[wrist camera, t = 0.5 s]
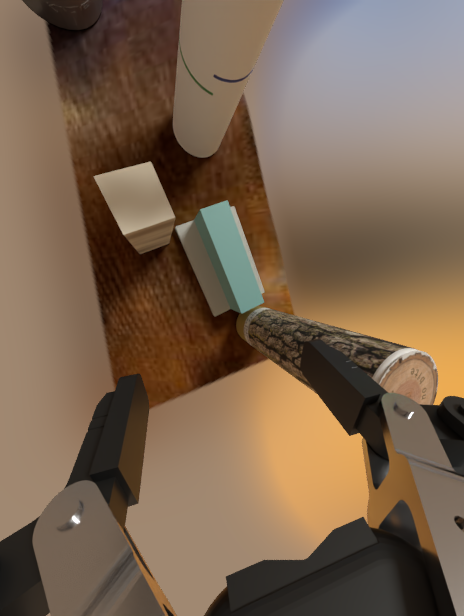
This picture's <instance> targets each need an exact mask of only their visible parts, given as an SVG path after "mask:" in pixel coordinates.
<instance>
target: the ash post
mask: <svg viewBox="0 0 464 616" xmlns="http://www.w3.org/2000/svg"><path fill="white" fill-rule="evenodd" d="M93 177H94V178H95V180H96V182H97V184H98V186H99V188H100V190H101V192H102V194H103V196H104V198H105V200H106V202H107V204H108V206H109V208H110V210H111V212H112V214H113V216H114V217H115V219H116V221H117V223H118V225H119V227H120V229H121V231H122V233H123V235H124V236H125V237H126V239H127V240H128V241H129V242H130V243H131V244H132V246H133V247H134V248H135V249H136V250H137V252H138V253H139V254H143V253H145V252H148V251H151V250H153V249H156V248H159V247H161V246H164V245H167V244H169V242H170V238H171V234H172V229H173V225H174V221H175V215H174V213H173V211H172V209H171V206H170V204H169V202H168V199H167V197H166V195H165V193H164V190H163V188H162V186H161V183H160V181H159V179H158V176H157V174H156V172H155V170H154V167H153V165H152V163H151V162H147V163H143V164H139V165H135V166H131V167H127V168H123V169H120V170H116V171H112V172H108V173H104V174H100V175H96V176H93Z"/></svg>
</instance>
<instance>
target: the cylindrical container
mask: <svg viewBox="0 0 464 616" xmlns="http://www.w3.org/2000/svg"><path fill="white" fill-rule="evenodd" d="M283 1H284V0H182V9H181V21H180V35H179V47H178V60H177V73H176V86H175V98H174V111H173V131H174V134H175V137H176V139H177V141H178V143H179V144H180V145H181V147H182V148H183V149H184V150H185V151H186V152H188V153H189V154H191V155H193V156H196V157H200V158H205V157H209V156H211V155H213V154H214V153H215V152H216V151H217V149H218V147H219V145H220V143H221V141H222V139H223V136H224V134H225V132H226V130H227V127H228V125H229V123H230V121H231V118H232V116H233V114H234V111H235V109H236V107H237V105H238V102H239V100H240V98H241V96H242V93H243V91H244V89H245V87H246V84H247V82H248V80H249V77H250V75H251V73H252V71H253V69H254V66H255V64H256V62H257V60H258V57H259V55H260V53H261V51H262V48H263V46H264V44H265V41H266V39H267V37H268V35H269V33H270V30H271V28H272V26H273V23H274V21H275V19H276V17H277V14H278V12H279V10H280V8H281V5H282V3H283Z"/></svg>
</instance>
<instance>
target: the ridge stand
mask: <svg viewBox="0 0 464 616" xmlns="http://www.w3.org/2000/svg"><path fill="white" fill-rule="evenodd" d="M175 230H176V232H177V234H178V237H179V239H180V241H181V243H182V246H183V248H184V250H185V253H186V255H187V257H188V259H189V262H190V264H191V266H192V268H193V271H194V273H195V275H196V277H197V280H198V282H199V284H200V286H201V289H202V291H203V293H204V295H205V298H206V300H207V302H208V305H209V307H210V309H211V311H212V314H213V316H217V315H219V314H221V313H224V312H226V311H228V310H230V309H232V310H234V311H236V312H239V313H241V314H242V313H244V312H246V311H248V310H250V309H252V308H254V307H256V306H258V305H260V304H262V303H264V300H263V297H262V295H261V294H262V293H264V289H263V286H262V283H261V280H260V277H259V275H258V272H257V269H256V266H255V263H254V261H253V258H252V255H251V252H250V249H249V246H248V244H247V241H246V238H245V235H244V232H243V230H242V227H241V224H240V221H239V218H238V215H237V213H236V210H235V207H234V206H233V207H230V206H229V203H228V200H227V201H224V202H221V203H218V204H215V205H212V206H209V207H206V208H203V209H200V211H199V212H198V214H197V216H196V218H195V219H194V220H193V221H190V222H188V223H185V224H182V225H179V226H176V227H175Z"/></svg>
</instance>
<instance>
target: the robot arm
mask: <svg viewBox="0 0 464 616" xmlns="http://www.w3.org/2000/svg"><path fill="white" fill-rule="evenodd" d="M23 2H24V3H25V4H26V5H27V6H28V7H29V8H30V9H31V10H32V11H34V12H35V13H36V14H37V15H38V16H40V17H41V18H43V19H44V20H46V21H47V22H49V23H51V24H53V25H56V26H58V27H61V28H65V29H68V30H81V29H85V28H88V27H89V26H91V25H93V24H94V23H95V22H96V20H97V19H98V18H99V15H100V13H101V9H102V0H23ZM300 368H301V372H302V374H303V376H304V377H305V378H306V380H307V381H308V382H309V383H310V385H311V386H312V387H313V389H314V390H315V391H316V393H317V394H318V395H319V397H320V398H321V399H322V400H323V402H324V403H325V404H326V406H327V407H328V408H329V410H330V411H331V412H332V413H333V415H334V416H335V417H336V419H337V420H338V421H339V422H340V424H341V425H342V426H343V428H344V429H345V430H346V432H347V433H348V434H349V436H351V435H354V434H357V433H360V434H361V435H362V436H363V439H362V447H363V453H364V460H365V467H366V473H367V481H368V488H369V501H368V509H367V518H368V524H367V523H366V521H365V519H364V517H362V518H359V519H357V520H355V521H353V522H350V523H348V524H346V525H343V526H341V527H339V528H336V529H334V530H333V531H332V532H331V533H330V534H329V535H328V537H326V539H325V540H324V541H323V542H322V543H321V544H320V545H319V546H318V547H317V549H316V550H315V551H314V552H313V553H312V554H311V555H310V556H309V557H308V558H307V559H305V560H263V561H261V562H258V563H256V564H254V565H251V566H249V567H247V568H245V569H242V570H240V571H238V572H235V573H233V574H231V575H229V576H226V580H227V587H226V588H225V589H224V590H223V591H222V592H221V593H220V594H219V595H218V596H217V598H216V599H215V600H214V602H213V603H212V604H211V605H210V607H209V608H208V610H207V612H206V613H205V615H204V616H464V398H460V397H456V396H448V397H445V398H444V399H443V401H442V402H441V404H440V405H423V404H418V403H417V402H415V401H414V400H412V399H410V398H408V397H406V396H404V395H401V394H398V393H388V392H387V391H386V390H385V389H384V388H382V387H381V386H380V385H379V384H378V383H377V382H376V381H374V380H373V379H372V378H371V377H370V376H369V375H368V374H366V373H365V372H364V371H363V370H362V369H361V368H359V367H357V365H356V364H355V363H354V362H353V361H351V360H350V359H349V358H348V357H347V356H346V355H345V354H343V353H342V352H341V351H339V350H337V349H335V348H333V347H329V346H328V345H327V344H326V343H325V342H324V341H322V340H321V339H315V340H310V341H306V342H304V344H303V350H302V356H301V361H300ZM148 414H149V401H148V396H147V393H146V390H145V387H144V384H143V381H142V378H141V375H140V374H135V375H129V376H124V377H120V378H119V381H118V384H117V387H116V390H115V391H114V392H109V393H106V395H105V396H104V397H103V398H102V400H101V401H100V402H99V403H98V405H97V407H96V409H95V412H94V415H93V417H92V421H91V423H90V425H89V428H88V432H87V433H86V436H85V439H84V441H83V444H82V446H81V449H80V452H79V454H78V457H77V460H76V462H75V465H74V467H73V471H72V473H71V475H70V478H69V481H68V483H67V485H66V487H65V488H64V490H62V491H61V492H60V493H59V494H58V495H56V496H55V497H54V498H53V499H52V501H51V502H50V503H49V504H48V505H47V507H46V508H45V509H44V511H43V512H42V514H41V515H40V516H39V517H38V518H37V519H36V520H34V521H33V522H32V523H30V524H28V525H27V526H25V527H23V528H22V529H20V530H18V531H17V532H15V533H14V534H12V535H11V536H9V537H7V538H5V539H4V540H2V541H1V542H0V616H46V615H47V614H48V613H50V614H51V616H177V615H176V613H175V611H174V610H173V608H172V606H171V604H170V603H169V601H168V599H167V598H166V596H165V595H164V593H163V591H162V589H161V588H160V586H159V585H158V583H157V582H156V580H155V578H154V577H153V574H152V573H151V571H150V569H149V567H148V565H147V564H146V562H145V560H144V559H143V557H142V555H141V553H140V551H139V550H138V548H137V546H136V544H135V543H134V541H133V539H132V537H131V535H130V534H129V532H128V530H127V528H126V527H125V521H126V514H127V508H128V506H132V505H135V504H138V501H139V492H140V484H141V475H142V466H143V458H144V449H145V440H146V432H147V423H148Z"/></svg>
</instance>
